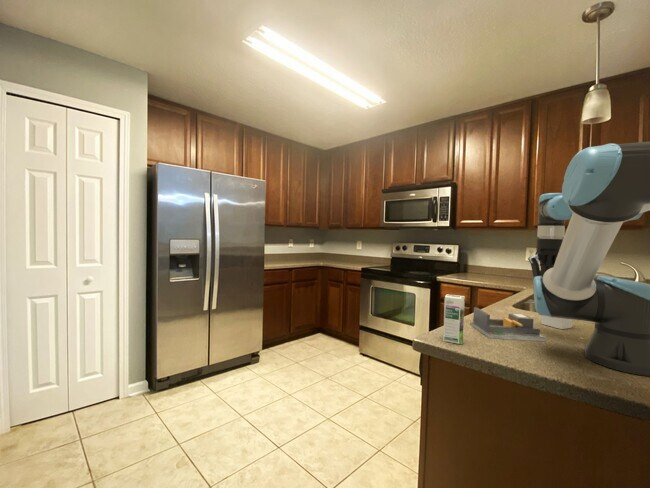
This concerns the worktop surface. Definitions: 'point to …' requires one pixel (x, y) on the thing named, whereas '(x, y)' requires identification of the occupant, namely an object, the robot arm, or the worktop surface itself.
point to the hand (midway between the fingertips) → (546, 305)
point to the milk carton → (556, 322)
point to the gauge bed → (503, 328)
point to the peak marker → (510, 323)
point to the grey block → (522, 320)
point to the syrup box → (453, 319)
